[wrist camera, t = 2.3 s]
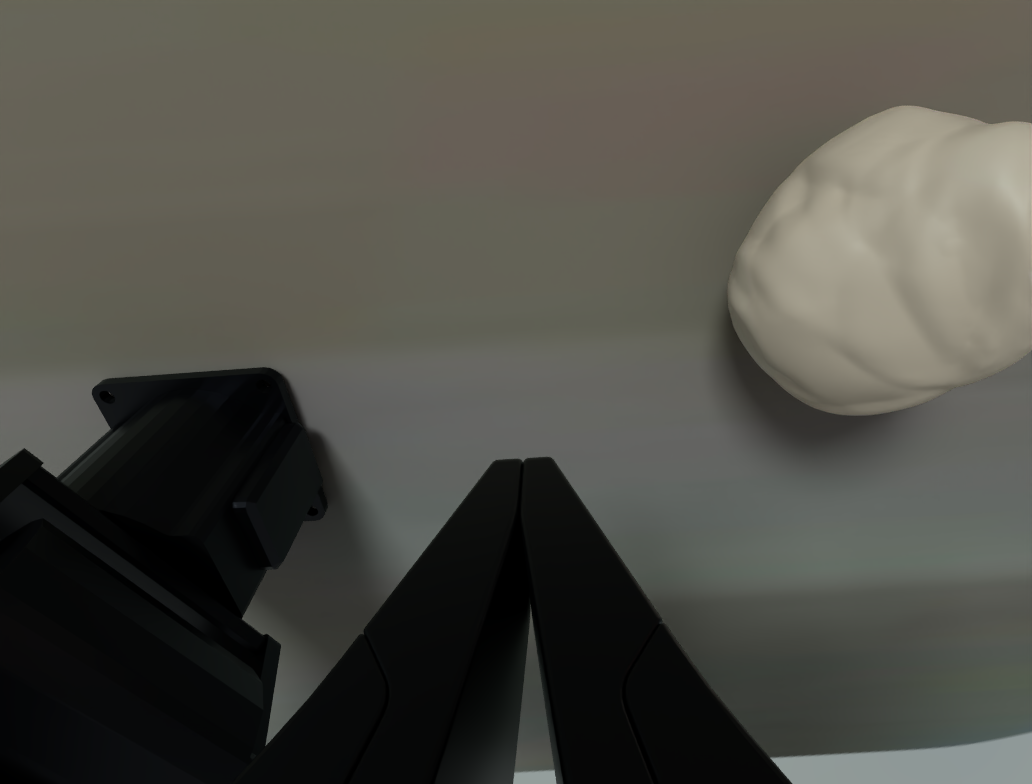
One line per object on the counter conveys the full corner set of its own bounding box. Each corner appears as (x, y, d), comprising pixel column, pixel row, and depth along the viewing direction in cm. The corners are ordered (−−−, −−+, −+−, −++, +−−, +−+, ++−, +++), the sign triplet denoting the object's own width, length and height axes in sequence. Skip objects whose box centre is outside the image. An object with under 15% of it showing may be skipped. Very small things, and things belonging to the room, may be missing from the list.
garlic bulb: (954, 286, 17) (1240, 451, 10) (739, 371, 18) (857, 561, 12) (921, 55, 14) (1297, 64, 7) (669, 182, 16) (771, 290, 9)
